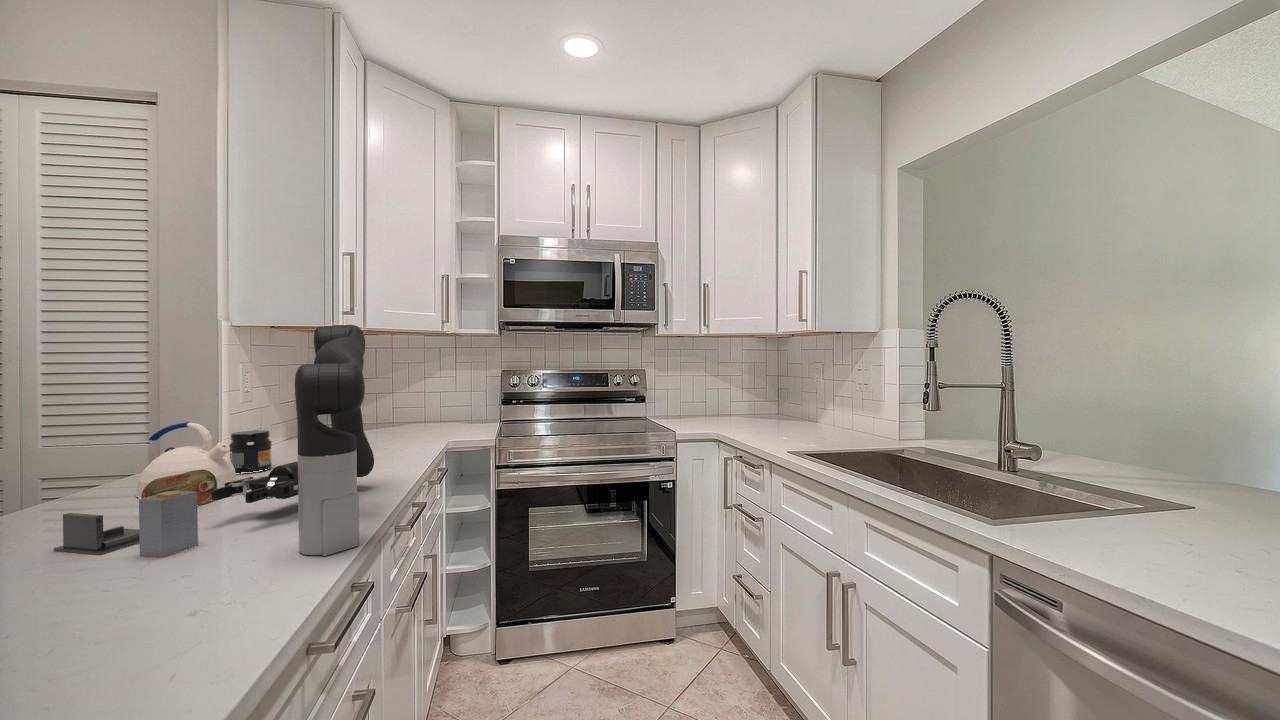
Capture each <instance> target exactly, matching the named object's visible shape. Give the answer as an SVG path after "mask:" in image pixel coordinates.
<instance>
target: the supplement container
mask: <svg viewBox="0 0 1280 720" xmlns="http://www.w3.org/2000/svg"><path fill="white" fill-rule="evenodd" d="M230 440H231V442H230V443H229V447H230V451H229V460H230V461H231V463H232V464H233V466H234V468H235V473H241V472H253V471H259V470H265V469H268V468H270V469H272V467H273V465H272V443H273V442H272V441H271V439H270V431H269V430H268V429H257V430H244V431H237V432H232V433H230ZM268 470H269V469H268Z"/></svg>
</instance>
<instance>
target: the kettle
mask: <svg viewBox="0 0 1280 720" xmlns="http://www.w3.org/2000/svg"><path fill="white" fill-rule="evenodd" d="M182 428H191V429H192V428H193V429H194V430H196V431H197V432H198V433H199V434H200V436H201V440H202V445H188V446H186V445H185V446H179V447H167V448H166V449H165V450H164V452H163V453H162V454H160V455H158V456H157V457H156V458H153V459H152V461H151V462H150V463H149V464H148V465H147V466H146V467H145V468H144V469H143V471H142V473H141V474H140V476H139V478H138V480H137V481H138V482H137V490H136V491H137V492H136V496H138V497H141V496H142V492H143V490H144V488H145V487H146V486H147V485H148V484H149V483H150V482H151V481H153V480H155V479H157V478H162V477H166V476H171V475H175V474H180V473H184V472H189V471H194V470H207V471H210V472H211V473H212V474H213V475H214V476H215V478H216V480H217V489H218V488H222V487H225V483H227V482H232V481H236V480H237V476H236V475H237V474H235V468H234V466H233V464H232V463H231V461H230V458H228V457H227V456H226V454H227V453H230V447H229V445H230V444H229V445H228V444H227V443H225V442H223V441H220V442H217V444H215V446H214V447H213V438H212V434H211V433H210V431H209V430H208V429H207V428H206V427H205V426H204V425H202V424H200V423H195V422H192V421H188V422H187V421H186V422H180V423H175V424H172V425H168V426H166V427H163V428H161V429H160V430H158V431H156V432H155V433H154V434H152V435H151V436H150V437H148V440H149V441H151V442H152V441H159V439H161V438H162V436H164V435H165V434H168V433H170V432H172V431H175V430H178V429H182Z"/></svg>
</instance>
